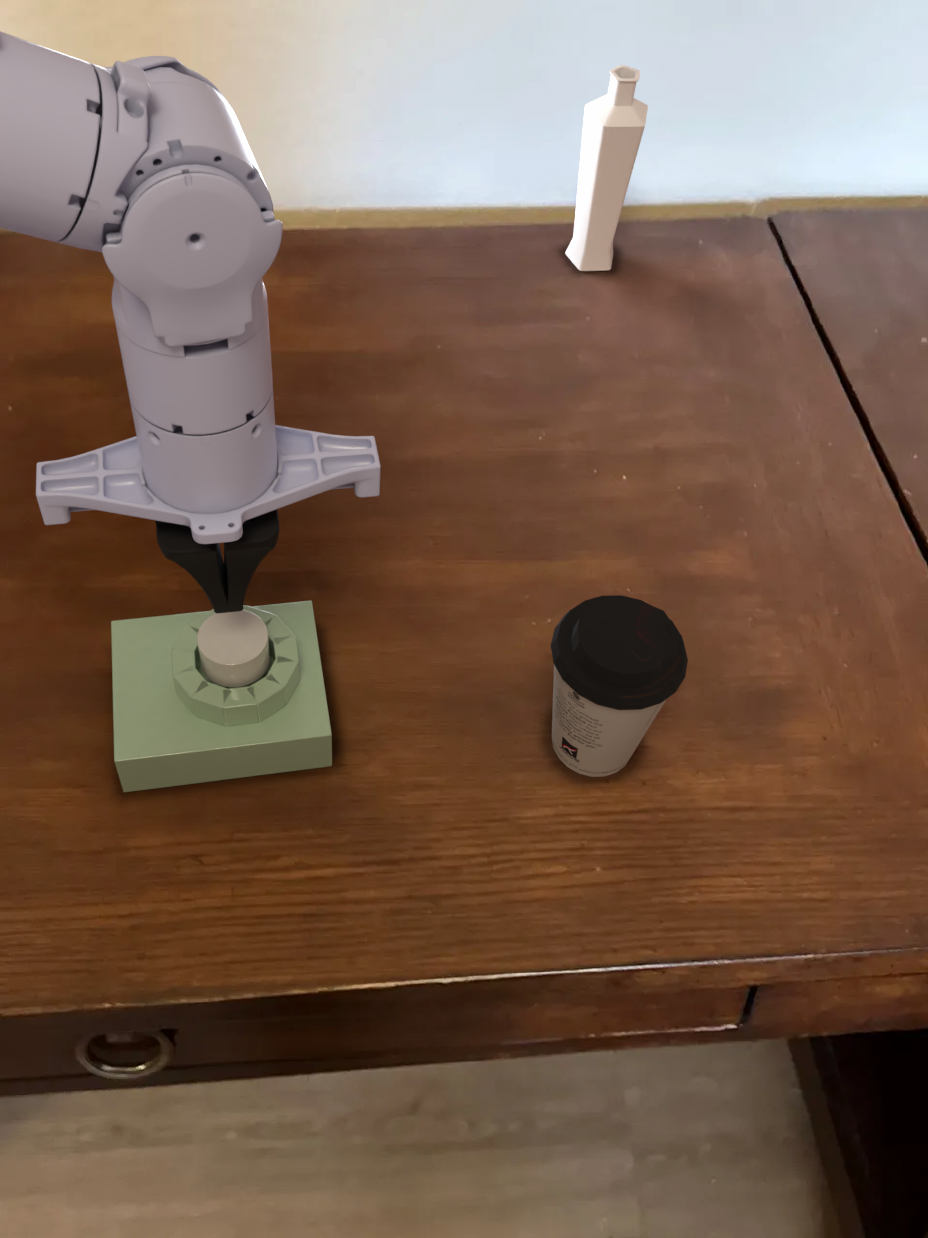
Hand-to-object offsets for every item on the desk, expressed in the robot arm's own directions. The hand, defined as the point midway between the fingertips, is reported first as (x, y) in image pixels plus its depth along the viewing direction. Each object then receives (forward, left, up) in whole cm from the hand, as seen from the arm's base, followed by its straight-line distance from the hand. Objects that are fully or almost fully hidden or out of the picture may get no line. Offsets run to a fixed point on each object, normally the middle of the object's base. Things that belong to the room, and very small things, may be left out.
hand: (227, 596), depth 60 cm
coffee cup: (+19, -5, -10) cm, 22 cm away
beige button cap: (0, 0, -5) cm, 5 cm away
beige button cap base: (-1, 0, -10) cm, 10 cm away
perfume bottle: (+30, +38, -10) cm, 49 cm away
